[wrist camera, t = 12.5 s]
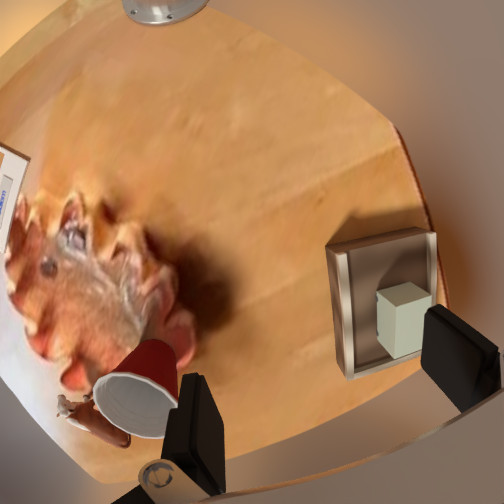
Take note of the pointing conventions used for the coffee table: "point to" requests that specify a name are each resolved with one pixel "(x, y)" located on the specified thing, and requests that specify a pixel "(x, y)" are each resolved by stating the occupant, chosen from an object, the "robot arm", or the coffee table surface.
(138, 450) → the coffee table surface
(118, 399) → the plastic cup
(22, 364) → the coffee table surface
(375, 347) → the grey tray
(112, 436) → the bull figurine
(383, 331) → the sage green cube
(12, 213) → the photo frame
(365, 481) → the robot arm
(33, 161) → the coffee table surface
